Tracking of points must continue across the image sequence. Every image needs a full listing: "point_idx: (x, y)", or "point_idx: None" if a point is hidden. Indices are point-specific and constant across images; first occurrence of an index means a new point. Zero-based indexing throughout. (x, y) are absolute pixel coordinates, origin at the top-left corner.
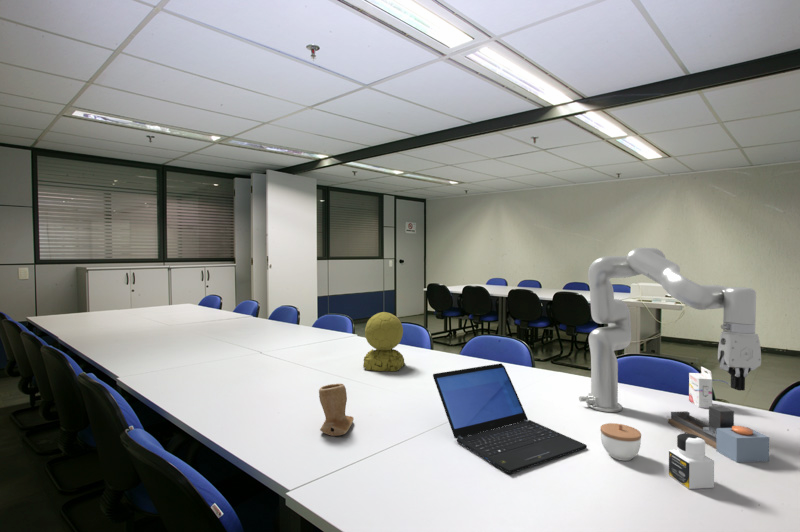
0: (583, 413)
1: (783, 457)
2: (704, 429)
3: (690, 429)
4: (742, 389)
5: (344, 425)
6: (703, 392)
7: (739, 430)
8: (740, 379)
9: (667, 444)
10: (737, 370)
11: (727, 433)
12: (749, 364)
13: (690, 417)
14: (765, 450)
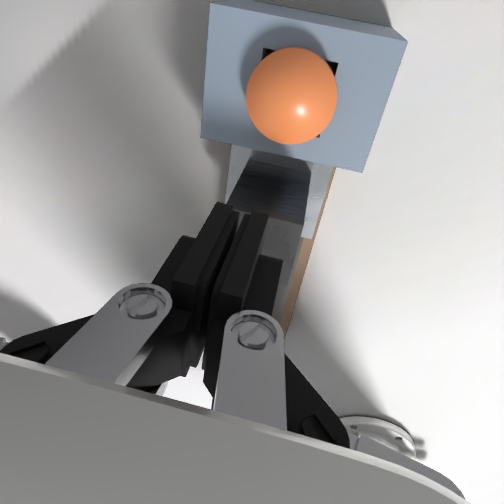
0: (475, 441)
1: (146, 12)
2: (314, 229)
3: (298, 269)
4: (235, 211)
5: None
6: None
7: (329, 86)
8: (239, 279)
9: (479, 229)
10: (250, 395)
11: (383, 107)
12: (23, 432)
13: None
14: (247, 3)
